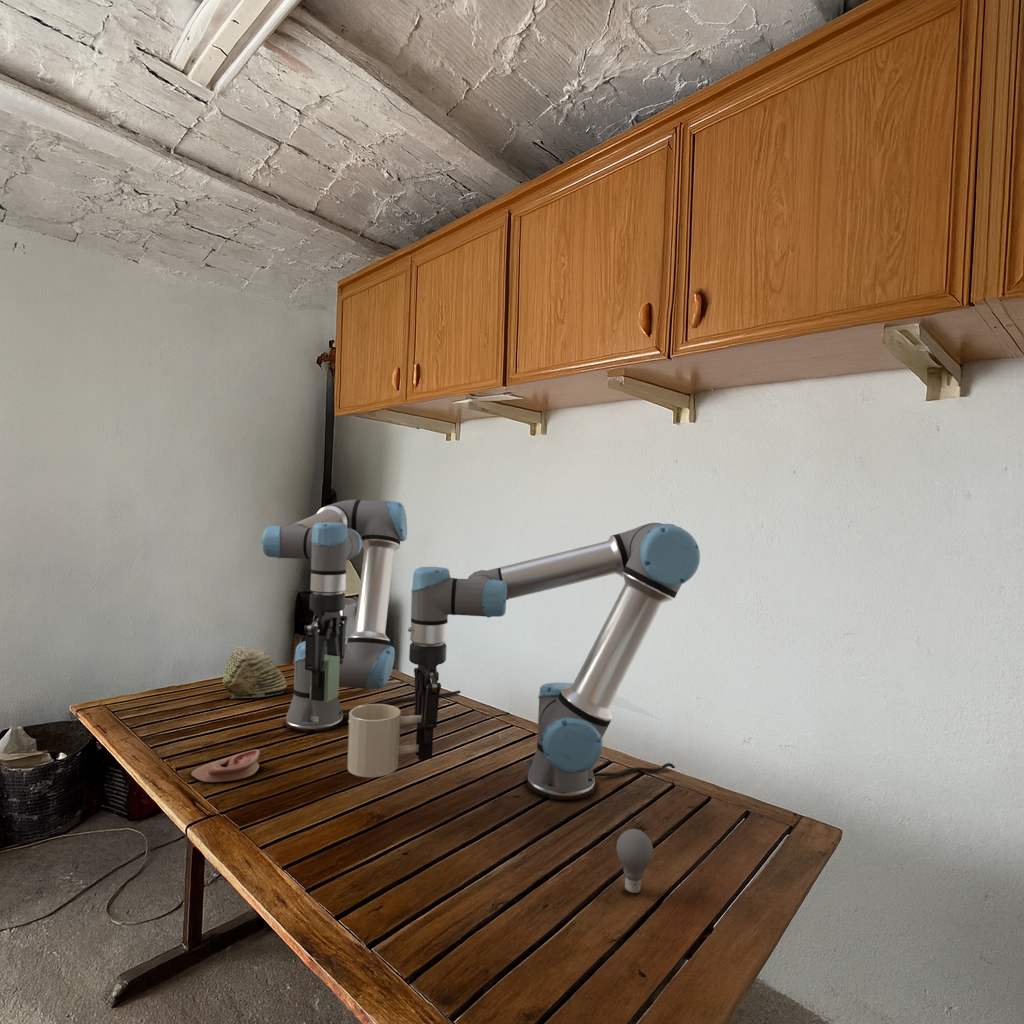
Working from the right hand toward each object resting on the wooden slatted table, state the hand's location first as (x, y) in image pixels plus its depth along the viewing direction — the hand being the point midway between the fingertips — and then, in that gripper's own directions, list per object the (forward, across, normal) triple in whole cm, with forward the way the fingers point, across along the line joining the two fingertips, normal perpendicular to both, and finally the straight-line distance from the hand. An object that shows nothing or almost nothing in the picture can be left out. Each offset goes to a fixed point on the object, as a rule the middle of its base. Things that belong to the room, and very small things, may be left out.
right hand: (423, 756), depth 130 cm
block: (-8, -19, -18) cm, 27 cm away
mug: (+1, 0, -7) cm, 7 cm away
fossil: (+11, -85, -33) cm, 92 cm away
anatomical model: (+11, -28, -38) cm, 49 cm away
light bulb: (+11, +37, +27) cm, 47 cm away
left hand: (-8, -19, -18) cm, 27 cm away
